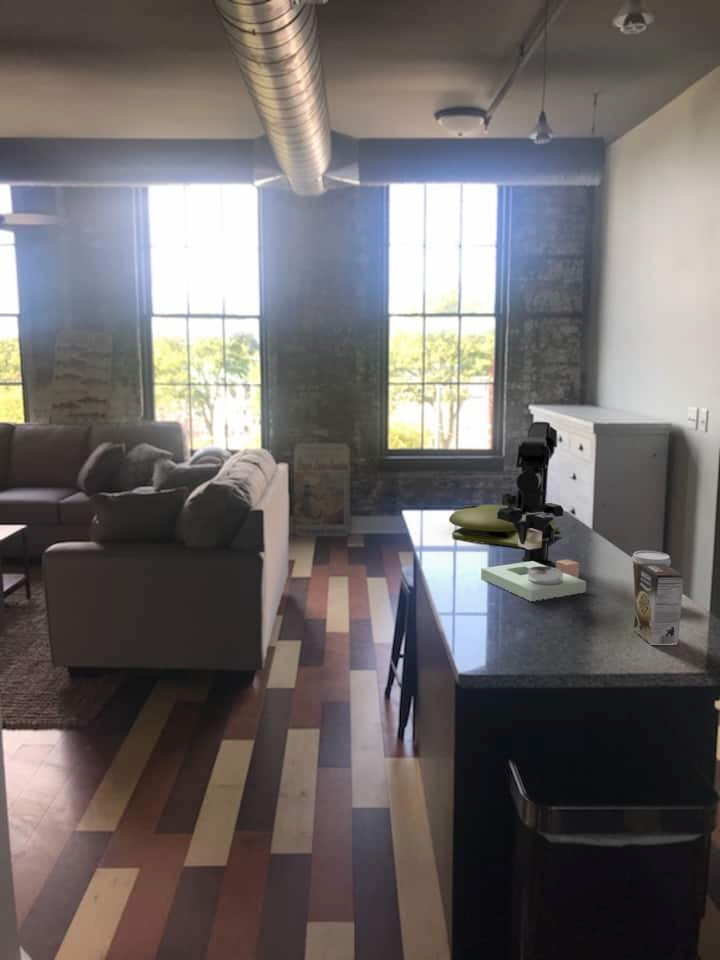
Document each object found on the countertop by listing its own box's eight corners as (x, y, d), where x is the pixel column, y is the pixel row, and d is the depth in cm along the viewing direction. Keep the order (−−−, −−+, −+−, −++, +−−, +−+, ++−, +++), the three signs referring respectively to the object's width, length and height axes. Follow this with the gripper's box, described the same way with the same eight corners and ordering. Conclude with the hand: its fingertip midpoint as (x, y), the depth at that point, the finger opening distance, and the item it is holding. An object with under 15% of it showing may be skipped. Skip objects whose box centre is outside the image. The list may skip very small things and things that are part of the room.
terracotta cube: (567, 574, 218) (568, 559, 217) (578, 578, 214) (579, 563, 213) (555, 576, 216) (556, 561, 215) (566, 580, 212) (566, 564, 211)
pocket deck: (532, 570, 221) (532, 560, 220) (585, 592, 201) (586, 581, 201) (481, 578, 213) (481, 568, 212) (531, 601, 193) (531, 590, 193)
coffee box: (632, 631, 173) (636, 562, 170) (659, 630, 174) (664, 562, 171) (650, 646, 164) (655, 574, 161) (679, 645, 165) (684, 574, 162)
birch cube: (530, 544, 212) (531, 528, 211) (541, 547, 208) (542, 531, 207) (517, 545, 210) (518, 529, 209) (528, 549, 206) (529, 533, 205)
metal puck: (547, 573, 207) (547, 564, 207) (569, 582, 199) (570, 573, 199) (520, 577, 204) (521, 568, 203) (542, 587, 196) (543, 577, 195)
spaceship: (561, 532, 270) (562, 505, 268) (531, 551, 244) (533, 521, 242) (470, 521, 288) (470, 495, 286) (433, 537, 262) (434, 509, 260)
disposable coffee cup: (667, 596, 198) (670, 552, 196) (669, 608, 189) (672, 561, 187) (628, 592, 201) (631, 548, 199) (628, 604, 192) (631, 558, 190)
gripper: (538, 480, 217) (536, 533, 220) (485, 485, 209) (484, 540, 211) (565, 486, 207) (563, 541, 210) (511, 491, 199) (509, 549, 202)
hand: (529, 542), depth 209 cm, fingers closed on birch cube, 4 cm apart
